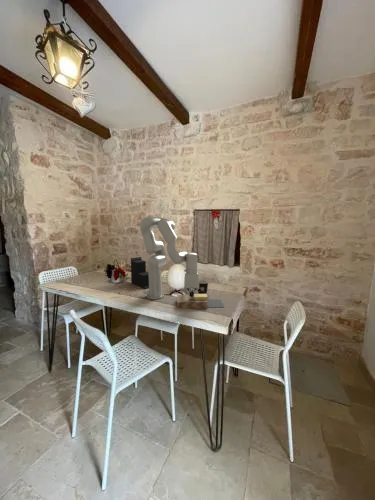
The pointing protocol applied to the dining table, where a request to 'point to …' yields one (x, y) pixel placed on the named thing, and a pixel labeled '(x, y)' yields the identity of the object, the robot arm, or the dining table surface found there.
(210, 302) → the mat
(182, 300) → the brown flat block
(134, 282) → the bookend
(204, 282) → the coffee mug
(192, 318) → the dining table surface
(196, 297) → the yellow flat block
